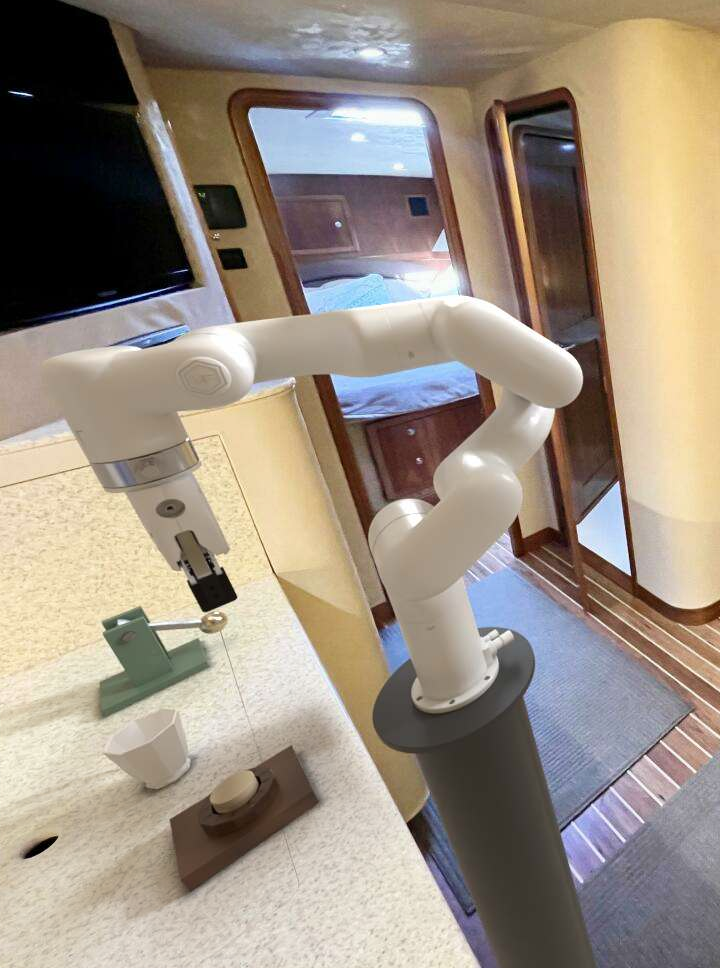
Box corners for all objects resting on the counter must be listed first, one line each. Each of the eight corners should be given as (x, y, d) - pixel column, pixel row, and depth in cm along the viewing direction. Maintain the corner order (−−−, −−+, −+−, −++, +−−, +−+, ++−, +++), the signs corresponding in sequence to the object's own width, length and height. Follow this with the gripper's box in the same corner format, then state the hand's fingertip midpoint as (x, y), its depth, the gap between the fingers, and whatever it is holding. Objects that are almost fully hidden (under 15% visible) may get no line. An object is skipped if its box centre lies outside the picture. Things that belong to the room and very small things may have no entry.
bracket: (201, 642, 94) (171, 588, 90) (209, 666, 88) (178, 609, 84) (102, 687, 86) (64, 629, 81) (105, 716, 80) (64, 656, 76)
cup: (141, 810, 66) (109, 765, 63) (118, 773, 71) (88, 730, 68) (212, 763, 72) (186, 719, 69) (186, 731, 77) (161, 689, 74)
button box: (297, 755, 72) (287, 734, 70) (319, 802, 65) (308, 780, 64) (177, 831, 63) (162, 809, 62) (189, 892, 57) (172, 869, 56)
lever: (222, 627, 94) (228, 607, 94) (226, 636, 91) (232, 615, 91) (110, 636, 83) (117, 613, 83) (111, 646, 81) (119, 623, 81)
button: (255, 773, 66) (249, 763, 65) (262, 793, 63) (256, 783, 63) (213, 799, 63) (206, 789, 62) (219, 821, 60) (212, 811, 60)
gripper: (207, 467, 54) (274, 611, 61) (186, 438, 64) (246, 565, 70) (100, 498, 49) (186, 651, 56) (95, 461, 58) (169, 596, 65)
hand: (220, 603), depth 63 cm, fingers closed
